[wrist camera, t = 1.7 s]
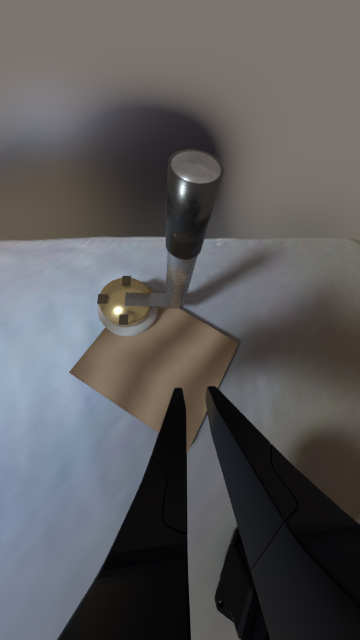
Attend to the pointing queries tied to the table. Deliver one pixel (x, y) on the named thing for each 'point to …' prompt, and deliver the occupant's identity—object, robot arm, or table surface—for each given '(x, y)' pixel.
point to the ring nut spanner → (171, 239)
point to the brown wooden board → (157, 365)
